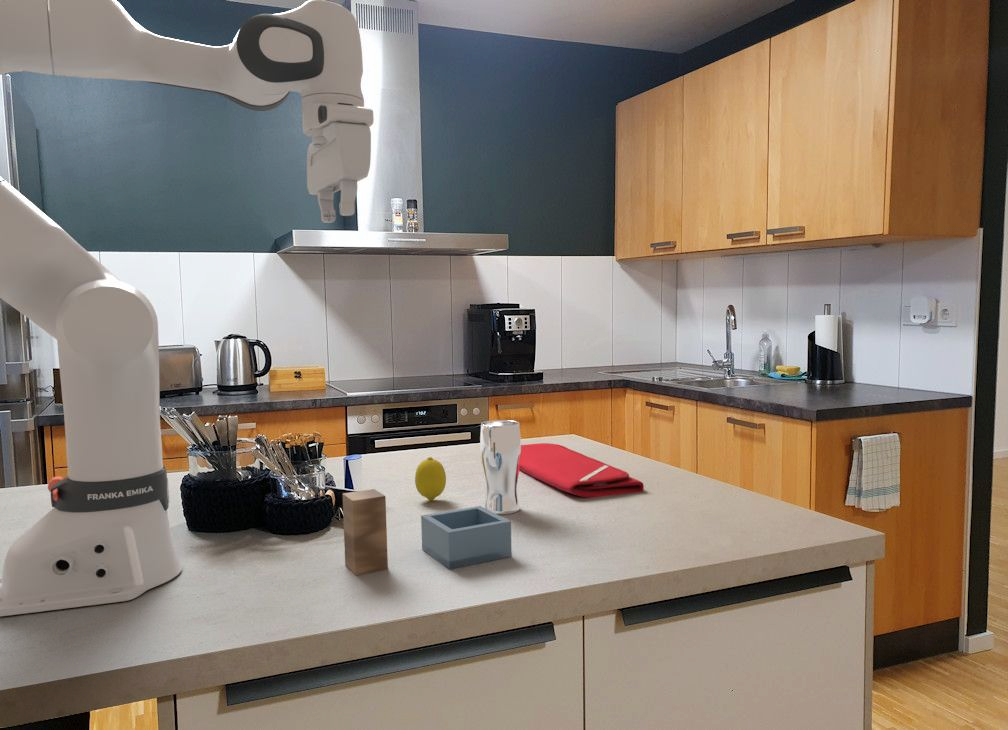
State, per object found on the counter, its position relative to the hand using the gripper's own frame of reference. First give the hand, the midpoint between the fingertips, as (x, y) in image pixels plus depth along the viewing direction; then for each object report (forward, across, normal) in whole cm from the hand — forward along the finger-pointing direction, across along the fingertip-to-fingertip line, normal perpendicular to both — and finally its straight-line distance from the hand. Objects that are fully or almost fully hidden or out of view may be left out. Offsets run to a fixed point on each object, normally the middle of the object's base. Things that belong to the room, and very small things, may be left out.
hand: (337, 218), depth 111 cm
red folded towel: (+49, -20, +51) cm, 74 cm away
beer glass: (+48, -2, +27) cm, 55 cm away
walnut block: (+48, +13, -2) cm, 50 cm away
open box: (+48, +15, +12) cm, 52 cm away
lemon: (+48, -14, +19) cm, 54 cm away
